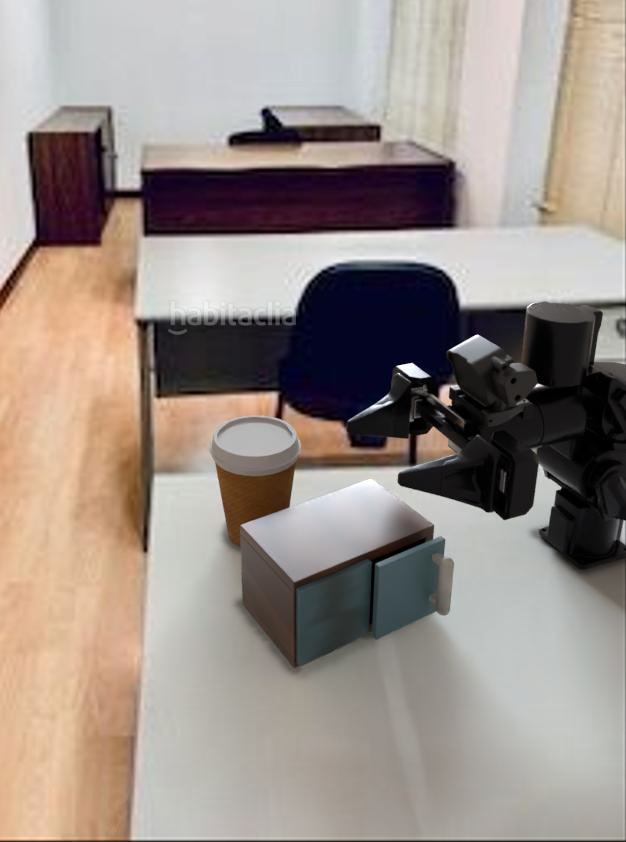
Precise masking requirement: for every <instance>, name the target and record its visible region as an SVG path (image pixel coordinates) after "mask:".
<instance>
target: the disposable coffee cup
mask: <svg viewBox="0 0 626 842" xmlns="http://www.w3.org/2000/svg"><path fill="white" fill-rule="evenodd" d="M208 448H209V453H210V456H211V458H212V460H213V461H214V464H215V469H216V475H217V480H218V486H219V491H220V498H221V502H222V507H223V513H224V518H225V524H226V529H227V536H228V538H229V540H230V541H231V543H232V544H233V545H235V546H237V547H239V548H241V541H240V525H242V524H245V523H247V522H250V521H253V520H256V519H258V518H261V517H264V516H267V515H270V514H272V513H275V512H278V511H281V510H284V509H286V508H289V507H291V500H292V491H293V485H294V478H295V472H296V471H295V470H296V466H297V465H296V464H297V460H298V458H299V456H300V454H301V450H302V443H301V439H300V438H299V437H298V434H297V431H296V429H295V428H294V426H293V425H291V424H290V423H288V422H287V421H286V420H283V419H280V418H277V417H275V416H267V415H257V414H255V415H254V414H253V415H243V416H238V417H235V418H231V419H229V420H226V421H224V422H222V423H221V424H220V425H219V426H217V428H216V429H215V430H214V432H213V436H212V438H211V440H210V442H209V447H208Z"/></svg>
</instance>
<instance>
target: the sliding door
mask: <svg viewBox="0 0 626 842" xmlns="http://www.w3.org/2000/svg"><path fill="white" fill-rule="evenodd" d="M445 551H446V538H444V536H441V535H440V536H437V537H435V538H433V540H430V541H428V542H426V543H423V544H421V545H418V546H416V547H414V548H411V549H409V550H407V551H404V552H402V553H399V554H397V555H395V556H392V557H390V558H388V559H385V560H383V561H380V562H378V563H376V564H375V578H374V600H373V622H372V632H371V637H372V638H373V639H374V640H375V641H378V640H379V639H381V638H384V637H386V636H388V635H390V634H392V633H394V632H396V631H398V630H400V629H402V628H405V627H406V626H409V625H411V624H413V623H415V622H417V621H419V620H421V619H423V618H426V617H428V616H429V615H432V614H434V613H436V612H437V613H438V615H440V616H447V615H448V614H449V613H450V611H451V603H452V602H451V601H452V590H453V581H454V570H455V569H454V568H455V561H454V559H453V558H452V557H451V556H448V555H447V556H445Z"/></svg>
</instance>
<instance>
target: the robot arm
mask: <svg viewBox="0 0 626 842" xmlns="http://www.w3.org/2000/svg"><path fill="white" fill-rule="evenodd" d="M603 316H604V312H603V311H602V310H599V309H597V308H595V307H592V306H590V305H588V304H583V305H574V304H568V303H560V302H549V301H545V300H543V301H542V300H541V301H536V302H532V303H530V304H528V305H527V307H526V311H525V319H524V320H525V321H524V328H523V329H524V330H523V339H522V347H521V357H520V362H515V359H514V358H513V357H512V356H510V355H508V354H507V353H506V351H505V350H504V349H503V348H501V347H500V346H499V345H497V344H495V343H493V342H491V341H490V340H488V339H486V338H485V337H483V336H481V335H479V334H476V335H474V336H471V337H469V338H468V339H465V340H464V341H462V342H461V343H459V344H457V345H455V346H454V347H452V348H450V349H448V350H447V351H446V358H447V361H449V362H450V365H451V368H452V371H453V375H454V379H455V382H456V385H455V384H454V385H450V386H449V389H448V391H449V392H448V399H449V400H450V401H451V403H450V404H449V405H447V404H446V403H445V402H443V401H442V400H441V399H439V398H438V397H439V382H437V381H436V380H435V379H434V378H433V377H432V376H431V375H429V374H428V373H427V372H425V371H423V370H422V369H421V368H420V367H418V366H417V365H416V364H414V363H413V362H411V363H406V364H401V365H396V366H394V367H393V368H392V378H391V383H390V390H389V392H388V393H387V394H386V395H385V396H384V397H382V398H381V399H380V400H379V401H377V402H375V403H374V404H372V405H371V406H369V407H367V408H365V410H363V411H361V412H359V413H358V414H356V415H354V416H353V417H352V418H349V419H348V420H347V421H346V424H345V429H346V430H345V431H346V432H347V433H348V434H352V435H359V436H366V437H367V436H368V437H381V438H393V439H403V440H405V439H406V440H408V439H410V435H412V436H423V435H427V434H428V433H429V432H431V430H432V429H433V428H435V430H436V431H438V432H439V433H441V435H443V436H444V437H445V438H446V439H447V440H448V441H447V447H449V448H450V449H451V450H452V451H453V452H454V454H450V455H447V456H444V457H441V458H437V459H434V460H430V461H427V462H424V463H420V464H417V465H414V466H410V467H409V468H406V469H404V470H402V471H399V472H398V474H397V484H398V485H399V486H400V487H403V488H407V489H411V490H414V491H418V492H422V493H425V494H429V495H434V496H438V497H442V498H446V499H449V500H452V501H456V502H458V503H462V504H465V505H470V506H472V507H475V508H478V509H481V510H483V511H484V512H485V513H488V514H489V513H495V514H496V515H497V516H498V517H499V518H501V519H502V520H503V521H507V520H511V519H515V518H519V517H522V516H525V515H527V514H528V513H529V511H530V510H531V509H532V508H534V504H535V496H536V488H537V480H538V473H539V466H540V467H541V468H542V470H543V474H544V477H545V478H547V479H548V480H551V481H552V482H554V483H555V484H556V485H558V486H559V487H560V489H557V490H555V496H554V503H553V505H552V506H551V508H550V514H549V521H548V525H546V526H542V527H539V529H538V534H539V535H540V536H541V538H542V539H544V540H546V542H548V543H549V544H550V545H551V546H552V547H553V548H555V550H557V551H558V552H559V553H561V554H562V555H563V556H564V557H565V558H567V559H568V560H569V561H571V563H572V564H574V565H575V566H576V567H577V568H578V569H582V570H585V569H588V568H592V567H596V566H599V565H602V564H607V563H609V562H610V563H611V562H613V561H616V560H620V559H623V558H626V544H625V543H624V542H622V541H621V538H622V537H621V536H622V531H623V526H624V521H625V522H626V363H620V362H615V361H595V359H596V358H595V357H596V352H597V345H598V338H599V332H600V329H601V327H602V322H603ZM535 449H537V450H536V452H535V451H534V450H535Z"/></svg>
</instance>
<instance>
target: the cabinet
mask: <svg viewBox="0 0 626 842" xmlns="http://www.w3.org/2000/svg"><path fill="white" fill-rule="evenodd" d="M434 534H435V524H434V523H432V522H431V521H430V520H429V519H427V518H426V517H424V516H423V515H422V514H420V513H419V512H418V511H416V510H415V509H414V508H412V507H411V506H410V505H408V504H407V503H405V502H404V501H403V500H401V499H400V498H399V497H397V495H395V494H393V492H391V491H390V490H388V489H387V488H385V487H384V486H383V485H382V484H380V483H379V482H377V481H376V480H375V479H374V478H367V479H364V480H362V481H358V482H356V483H354V484H351V485H348V486H346V487H343V488H340V489H337V490H334V491H331V492H329V493H328V492H327V493H325V494H322V495H320V496H318V497H317V496H316V497H314V498H312V499H309V500H306V501H303V502H301V503H298V504H295V505H293V506H290V507H289V508H286V509H284V510H281V511H278V512H275V513H272V514H270V515H267V516H264V517H261V518H258V519H256V520H253V521H250V522H247V523H245V524H242V525H240V541H241V547H240V568H241V569H240V570H241V604H242V606H243V607H244V609H246V611H247V612H248V613H249V614H250V616H251V617H252V618H253V619H254V621H255V622H256V623H257V624H258V626H259V627H260V628H261V630H262V631H263V632H264V633H265V634H266V636H267V637H268V638H269V639H270V641H271V642H272V643H273V645H275V647H276V648H277V649H278V651H279V652H280V653H281V654H282V656H283V657H284V658H285V659H286V660H287V661H288V663H289V664H290V665H291V666H292V668H293V669H296V668H298V667H299V668H301V667H303V666H305V665H307V664H309V663H312V662H313V661H315V660H318V659H320V658H322V657H324V656H326V655H329V654H331V653H333V652H335V651H337V650H338V649H341V648H344V647H345V646H347V645H349V644H351V643H354V642H355V641H358V640H360V639H362V638H364V637H367V636H368V635H369V634H370V633H372V622H373V600H374V578H375V564H376V563H378V562H380V561H383V560H385V559H388V558H390V557H392V556H395V555H397V554H399V553H402V552H404V551H407V550H409V549H411V548H414V547H416V546H418V545H421V544H423V543H426V542H428V541H430V540H433V539H434V536H435V535H434Z"/></svg>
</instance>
